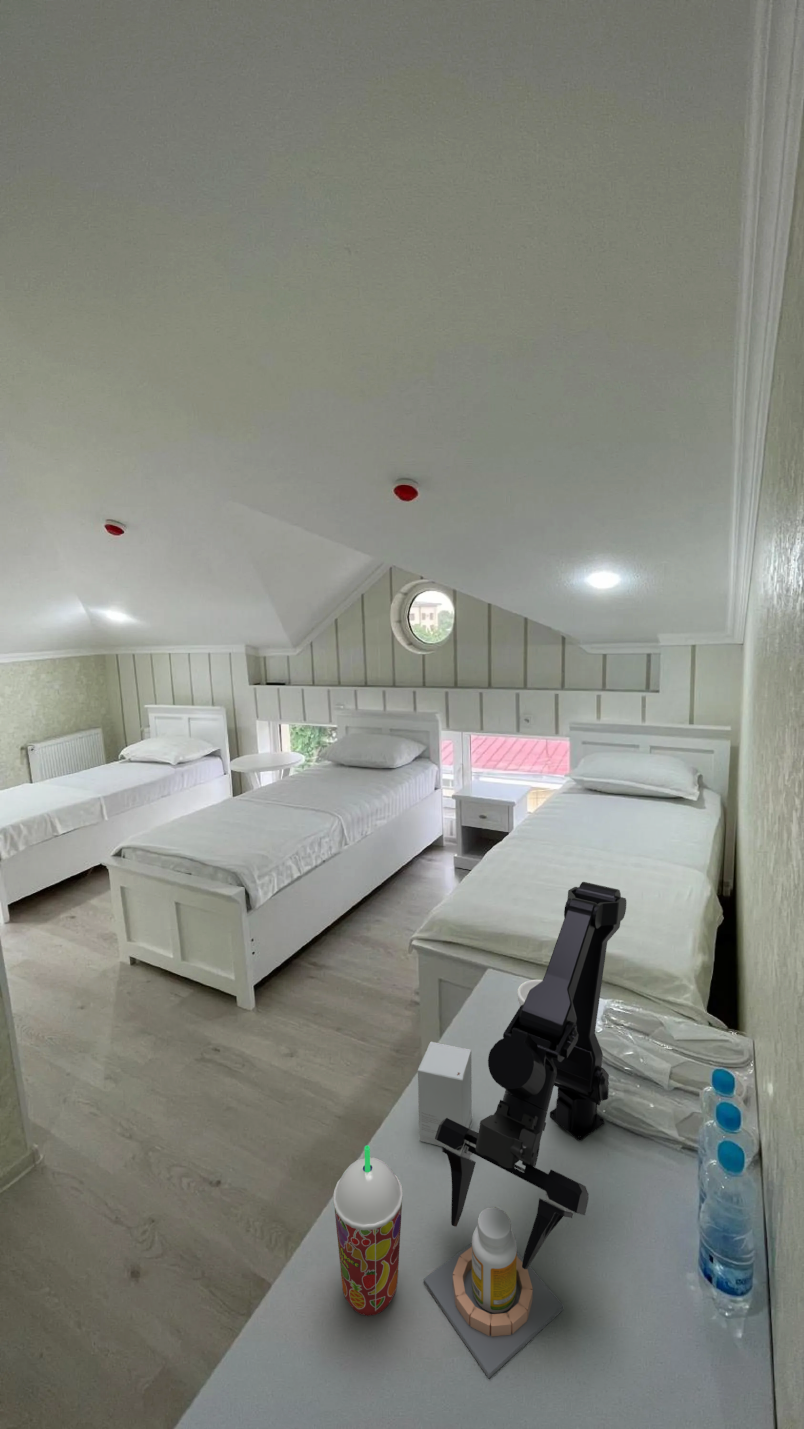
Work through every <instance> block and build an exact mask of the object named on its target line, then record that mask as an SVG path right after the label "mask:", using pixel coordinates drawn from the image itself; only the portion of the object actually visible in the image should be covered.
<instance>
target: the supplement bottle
mask: <svg viewBox="0 0 804 1429" xmlns="http://www.w3.org/2000/svg"><path fill="white" fill-rule="evenodd" d="M471 1243H472V1291H473V1295H474V1297H475V1299H476V1301H477V1302H478V1304H479V1305H480V1306H481V1307H482V1308H483V1309H485V1310H487V1311H489V1312H492V1313H501V1312H504V1311H506V1310H508V1309H509V1308H510V1307H511V1306H512V1304H513V1303H514V1300H515V1297H516V1261H517V1252H518V1251H517V1250H518V1249H517V1240H516V1237H515V1234H514V1232H513V1231H512V1223H511V1219H510V1217H509V1215H508V1214H507V1212H505V1211H504V1210H503V1209H501V1208H498V1207H496V1206H495V1207H494V1206H491V1207H486V1208H484V1209H483V1210H482V1211H481V1212H480V1213H479V1215H478V1218H477V1225H476V1227H475V1229H474V1231H473V1233H472V1238H471Z"/></svg>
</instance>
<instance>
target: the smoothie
mask: <svg viewBox="0 0 804 1429" xmlns="http://www.w3.org/2000/svg"><path fill="white" fill-rule="evenodd" d="M403 1198H404V1193H403V1185H402V1183H401V1181H400V1179H399V1177H398V1176H397V1175H396V1174H395V1172H394V1171H393V1169H392V1168H391V1167H390V1166H389V1165H388V1164H387V1162H385V1161H383V1160H381V1159H379V1158H377V1157H373V1156H371V1147H370V1145H364V1157H361V1158H359V1159H357V1160H355V1161H354V1162H352V1163H350V1165H349V1166H348V1167H346V1170H345V1171H344V1172H343V1173H342V1175H341V1176H340V1179H338V1181H337V1182H336V1185H335V1187H334V1191H333V1195H332V1199H333V1200H332V1201H333V1202H332V1203H333V1206H334V1215H335V1216H334V1217H335V1225H336V1226H335V1227H336V1235H337V1246H338V1248H337V1249H338V1254H339V1255H338V1257H339V1265H340V1276H341V1278H340V1279H341V1286H342V1292H343V1294H344V1298H345V1300H346V1301H347V1303H348V1304H349V1305H350V1306H351V1308H352V1309H353V1310H354V1311H355V1312H356V1313H358V1314H360V1315H363V1316H367V1317H370V1316H376V1315H378V1314H380V1313H381V1312H383V1311H385V1309H386V1308H387V1307H388V1306H389V1304H390V1303H391V1301H392V1299H393V1297H394V1296H395V1294H396V1292H397V1288H398V1283H399V1282H398V1281H399V1280H398V1278H399V1265H400V1264H399V1263H400V1262H399V1260H400V1245H401V1228H402V1227H401V1226H402V1209H403Z"/></svg>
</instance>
